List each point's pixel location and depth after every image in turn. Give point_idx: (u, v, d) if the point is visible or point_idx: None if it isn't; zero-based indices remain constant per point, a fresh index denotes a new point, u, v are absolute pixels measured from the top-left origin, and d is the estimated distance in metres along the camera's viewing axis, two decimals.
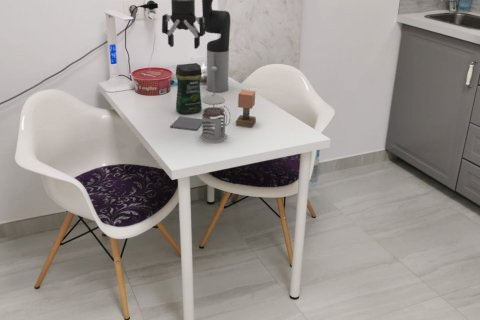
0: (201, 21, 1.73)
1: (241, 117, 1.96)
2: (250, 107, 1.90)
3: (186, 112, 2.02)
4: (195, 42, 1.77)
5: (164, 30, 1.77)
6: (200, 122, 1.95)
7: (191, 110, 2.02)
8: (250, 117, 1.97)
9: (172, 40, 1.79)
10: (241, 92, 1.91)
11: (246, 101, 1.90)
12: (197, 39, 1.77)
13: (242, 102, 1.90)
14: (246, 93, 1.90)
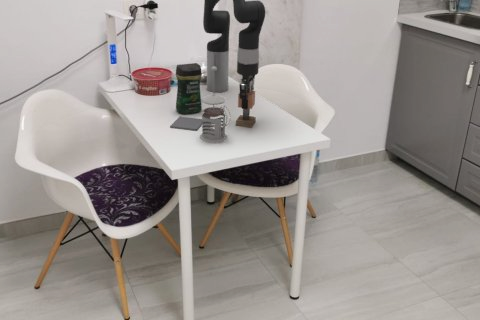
0: (254, 77, 1.94)
1: (241, 117, 1.96)
2: (250, 107, 1.90)
3: (186, 112, 2.02)
4: None
5: (247, 96, 1.86)
6: (200, 122, 1.95)
7: (191, 110, 2.02)
8: (250, 117, 1.97)
9: None
10: None
11: None
12: None
13: None
14: None
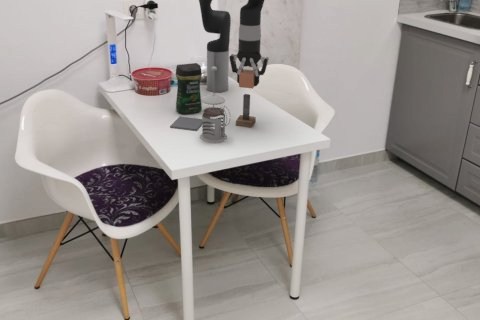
0: None
1: (241, 117, 1.96)
2: None
3: (186, 112, 2.02)
4: None
5: None
6: (200, 122, 1.95)
7: (191, 110, 2.02)
8: (250, 117, 1.97)
9: None
10: (248, 73, 1.86)
11: None
12: None
13: None
14: (250, 72, 1.87)
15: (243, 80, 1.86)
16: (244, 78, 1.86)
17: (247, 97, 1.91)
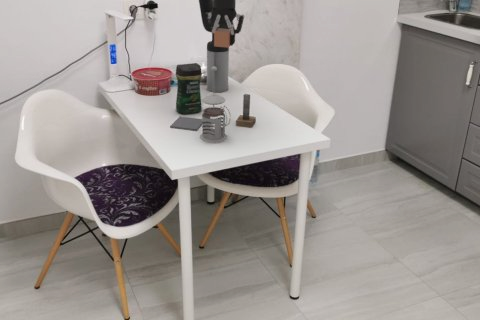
0: None
1: (241, 117, 1.96)
2: None
3: (186, 112, 2.02)
4: None
5: None
6: (200, 122, 1.95)
7: (191, 110, 2.02)
8: (250, 117, 1.97)
9: None
10: (223, 31, 1.78)
11: None
12: None
13: (229, 40, 1.80)
14: (226, 30, 1.80)
15: (218, 39, 1.79)
16: (219, 36, 1.79)
17: (247, 97, 1.91)
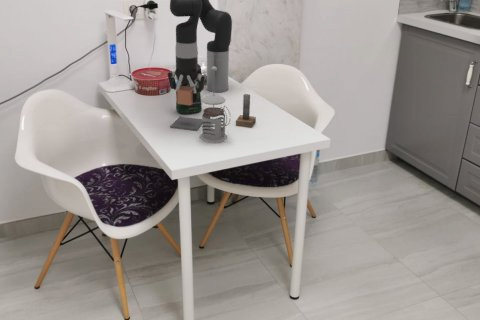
0: None
1: (241, 117, 1.96)
2: None
3: (186, 112, 2.02)
4: None
5: None
6: (200, 122, 1.95)
7: (191, 110, 2.02)
8: (250, 117, 1.97)
9: None
10: (185, 90, 1.86)
11: None
12: None
13: (192, 98, 1.88)
14: (189, 89, 1.88)
15: (181, 97, 1.87)
16: (182, 95, 1.87)
17: (247, 97, 1.91)
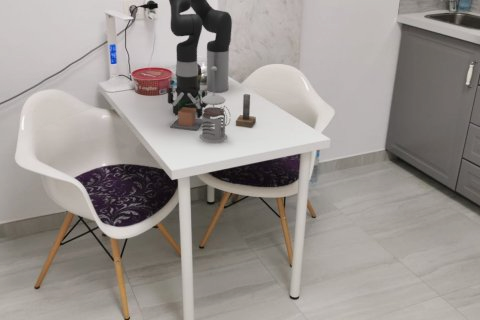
0: None
1: (241, 117, 1.96)
2: (195, 120, 1.95)
3: None
4: None
5: None
6: (200, 122, 1.95)
7: None
8: (250, 117, 1.97)
9: None
10: (186, 112, 1.90)
11: (194, 116, 1.92)
12: None
13: (193, 119, 1.91)
14: (190, 110, 1.91)
15: (182, 118, 1.90)
16: (183, 116, 1.90)
17: (247, 97, 1.91)
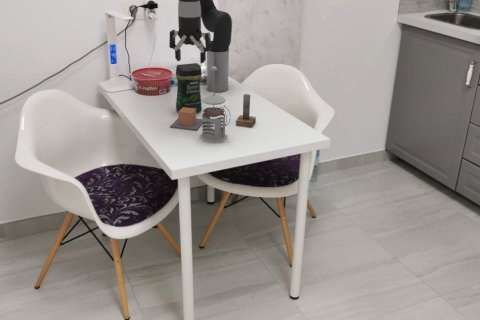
0: None
1: (241, 117, 1.96)
2: (195, 120, 1.95)
3: None
4: None
5: None
6: (200, 122, 1.95)
7: None
8: (250, 117, 1.97)
9: None
10: (186, 112, 1.90)
11: (194, 116, 1.92)
12: None
13: (193, 119, 1.91)
14: (190, 110, 1.91)
15: (182, 118, 1.90)
16: (183, 116, 1.90)
17: (247, 97, 1.91)
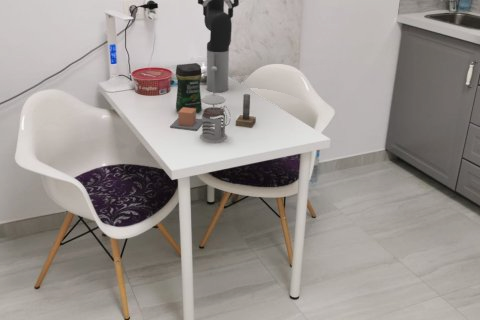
0: None
1: (241, 117, 1.96)
2: (195, 120, 1.95)
3: None
4: None
5: None
6: (200, 122, 1.95)
7: None
8: (250, 117, 1.97)
9: None
10: (186, 112, 1.90)
11: (194, 116, 1.92)
12: None
13: (193, 119, 1.91)
14: (190, 110, 1.91)
15: (182, 118, 1.90)
16: (183, 116, 1.90)
17: (247, 97, 1.91)
